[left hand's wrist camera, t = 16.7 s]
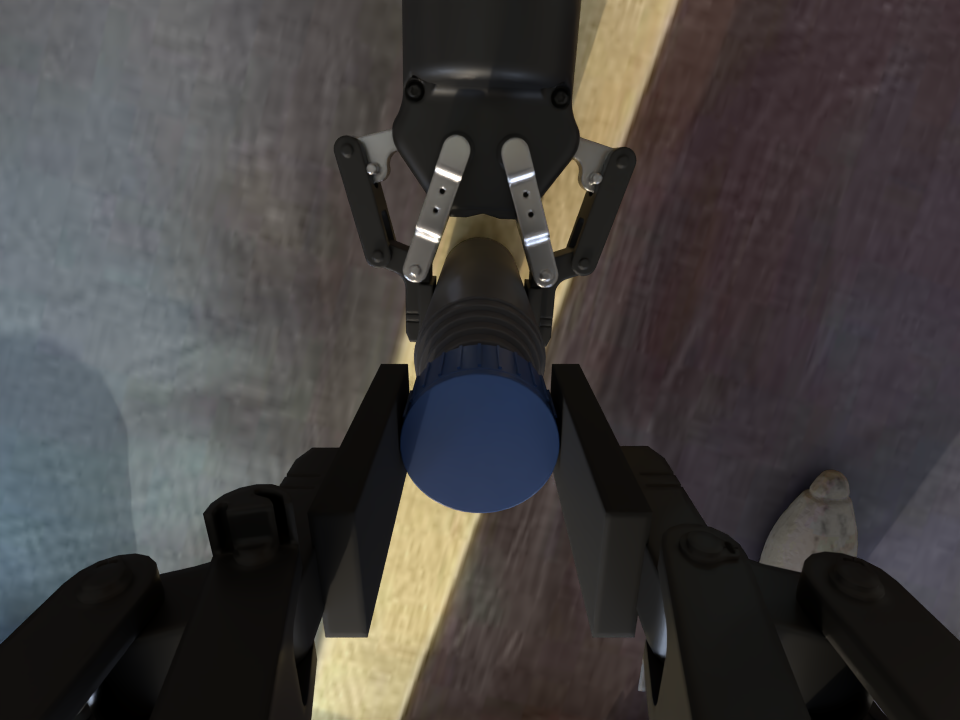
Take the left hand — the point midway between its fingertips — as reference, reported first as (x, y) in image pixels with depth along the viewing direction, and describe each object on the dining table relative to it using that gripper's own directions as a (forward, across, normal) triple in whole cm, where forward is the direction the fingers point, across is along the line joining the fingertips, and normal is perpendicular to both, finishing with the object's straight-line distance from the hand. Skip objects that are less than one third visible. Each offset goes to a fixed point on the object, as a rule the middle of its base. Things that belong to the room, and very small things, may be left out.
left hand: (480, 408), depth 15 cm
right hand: (+12, 0, -3) cm, 13 cm away
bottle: (+19, 0, 0) cm, 19 cm away
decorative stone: (+19, +25, -21) cm, 38 cm away
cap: (-2, 0, 0) cm, 2 cm away
